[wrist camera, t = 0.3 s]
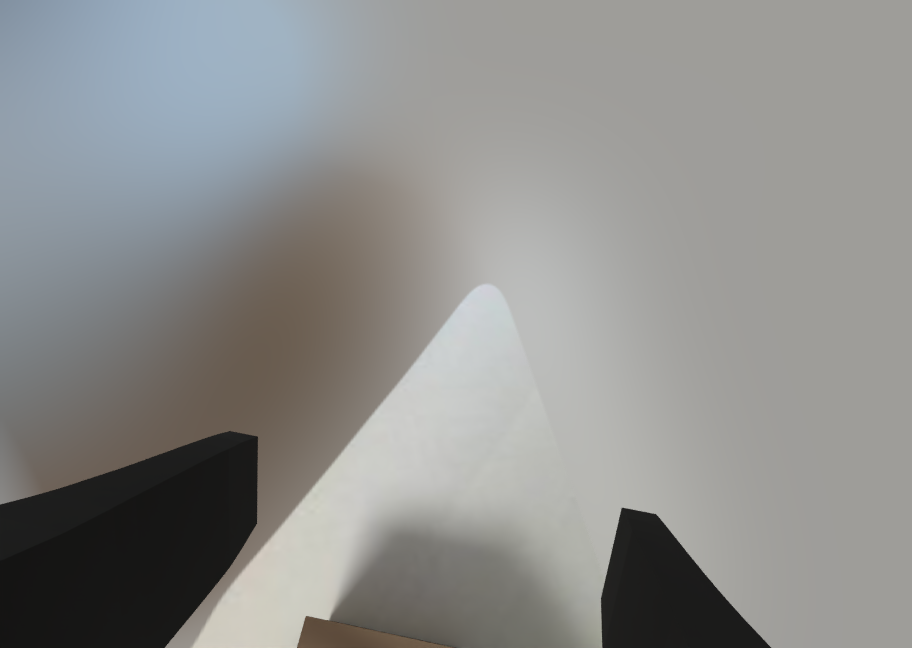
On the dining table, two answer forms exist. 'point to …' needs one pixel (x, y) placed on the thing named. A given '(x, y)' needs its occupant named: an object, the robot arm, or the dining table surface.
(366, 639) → the cabinet
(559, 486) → the dining table surface
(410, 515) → the dining table surface
